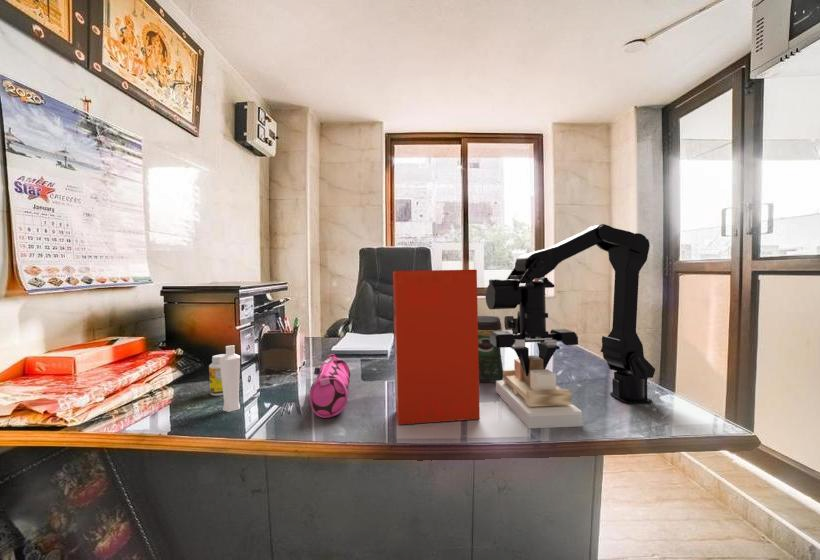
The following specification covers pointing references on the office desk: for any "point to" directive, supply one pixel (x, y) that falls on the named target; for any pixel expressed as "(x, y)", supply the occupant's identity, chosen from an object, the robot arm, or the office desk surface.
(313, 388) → the pencil case
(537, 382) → the cream crate
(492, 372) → the coffee jar
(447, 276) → the file binder
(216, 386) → the supplement bottle
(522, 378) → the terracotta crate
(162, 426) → the office desk surface
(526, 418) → the white flat block
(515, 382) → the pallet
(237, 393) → the white plastic bottle
